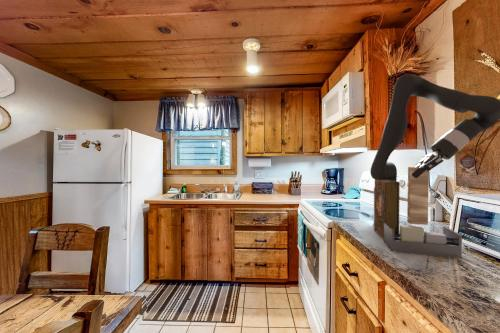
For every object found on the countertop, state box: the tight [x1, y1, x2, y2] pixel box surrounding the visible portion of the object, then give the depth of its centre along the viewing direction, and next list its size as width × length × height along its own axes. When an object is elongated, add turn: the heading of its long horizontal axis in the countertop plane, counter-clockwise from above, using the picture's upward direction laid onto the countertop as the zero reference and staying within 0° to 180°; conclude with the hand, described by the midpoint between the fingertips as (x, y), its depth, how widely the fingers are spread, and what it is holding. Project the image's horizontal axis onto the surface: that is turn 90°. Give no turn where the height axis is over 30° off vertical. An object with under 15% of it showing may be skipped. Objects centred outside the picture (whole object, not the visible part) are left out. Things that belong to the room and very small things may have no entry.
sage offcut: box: [399, 225, 425, 243], centre depth 91 cm, size 2×7×9 cm, turn 73°
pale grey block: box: [424, 232, 446, 244], centre depth 89 cm, size 2×6×7 cm, turn 74°
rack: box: [383, 223, 463, 259], centre depth 93 cm, size 12×22×8 cm, turn 73°
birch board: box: [406, 166, 430, 226], centre depth 95 cm, size 3×6×22 cm, turn 74°
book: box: [373, 179, 401, 240], centre depth 111 cm, size 16×6×25 cm, turn 168°
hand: (412, 176), depth 95 cm, fingers closed on birch board, 3 cm apart
